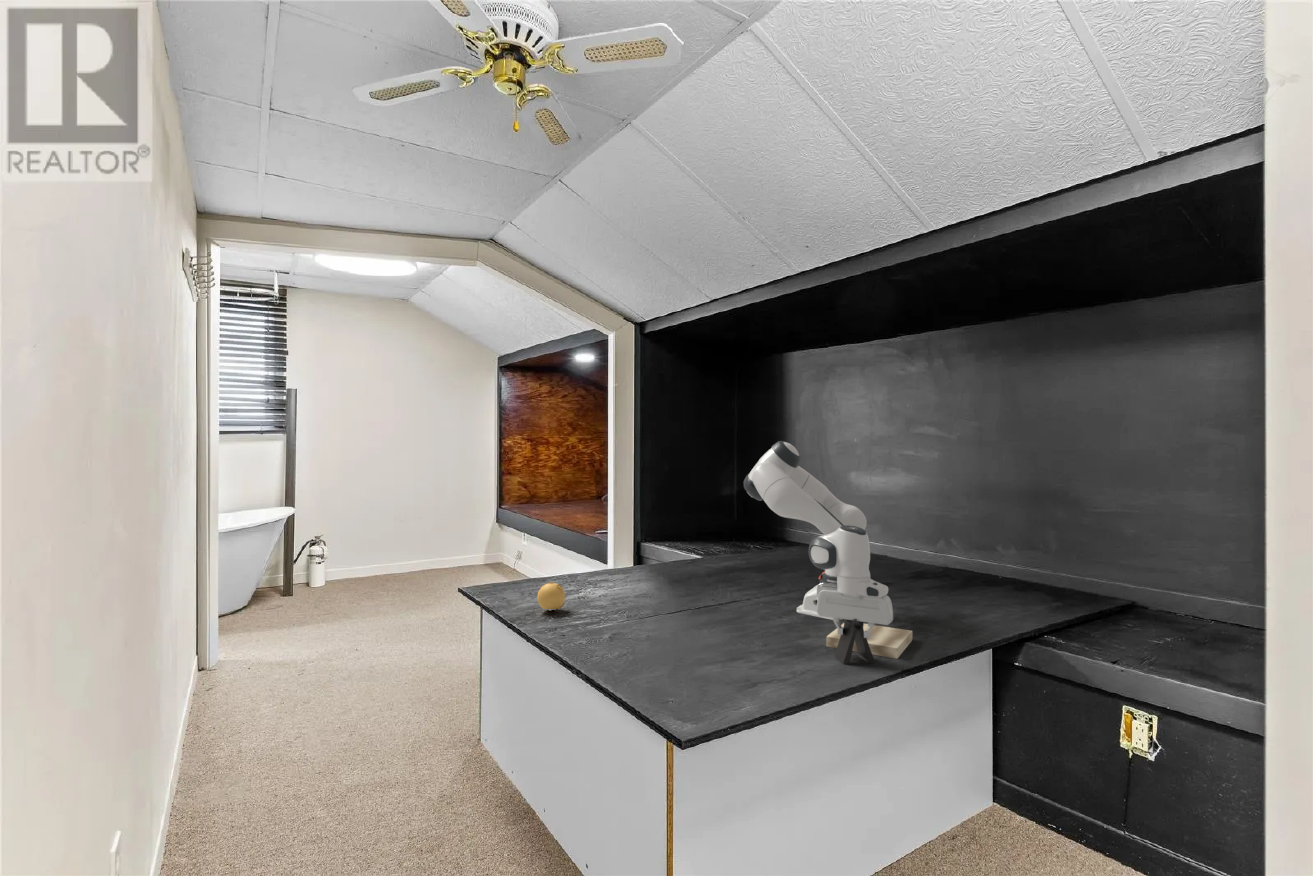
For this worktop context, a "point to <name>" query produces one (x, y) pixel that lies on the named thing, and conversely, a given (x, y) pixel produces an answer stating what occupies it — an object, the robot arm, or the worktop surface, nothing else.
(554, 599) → the stress ball
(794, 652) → the worktop surface
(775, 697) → the worktop surface
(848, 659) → the phone stand
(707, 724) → the worktop surface
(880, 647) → the birch plinth
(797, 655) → the worktop surface
